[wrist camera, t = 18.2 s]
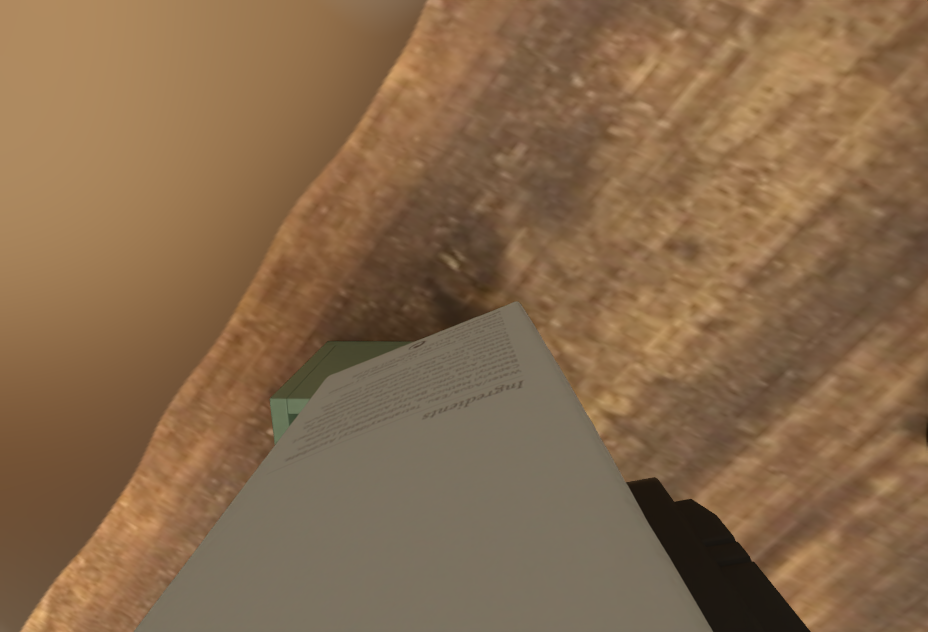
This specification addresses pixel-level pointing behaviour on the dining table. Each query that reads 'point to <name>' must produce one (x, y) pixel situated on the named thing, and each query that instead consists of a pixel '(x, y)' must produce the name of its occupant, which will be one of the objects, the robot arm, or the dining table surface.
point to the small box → (435, 508)
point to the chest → (320, 377)
